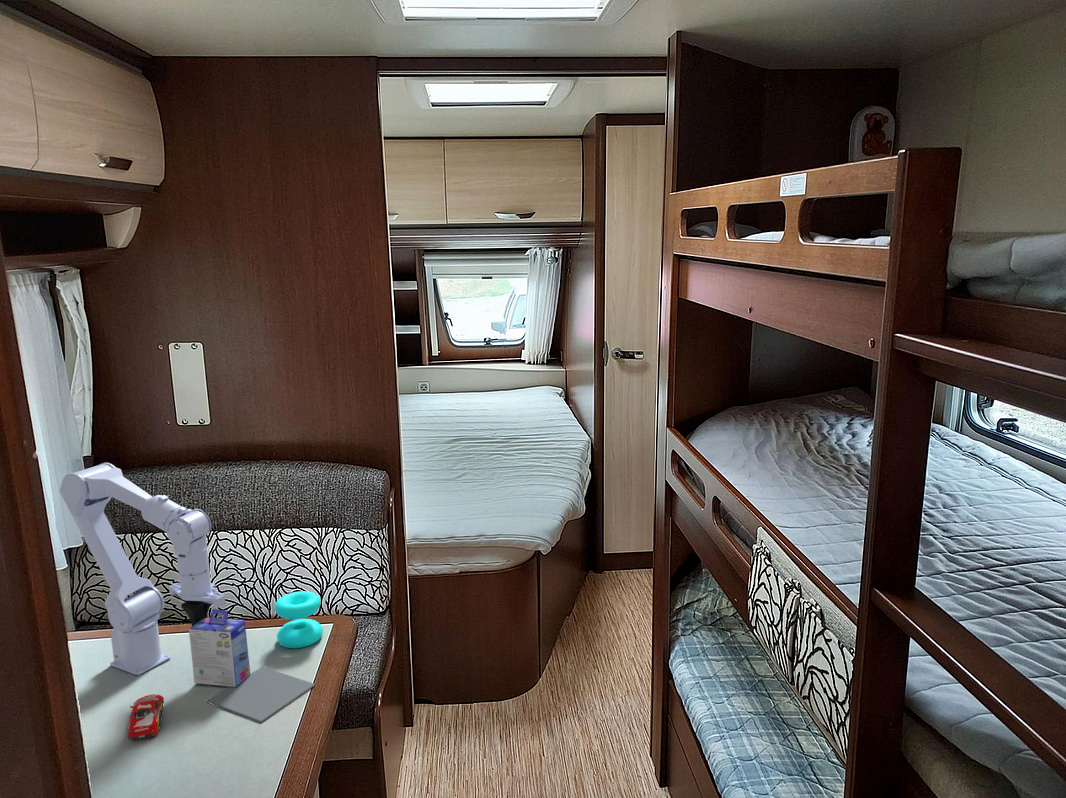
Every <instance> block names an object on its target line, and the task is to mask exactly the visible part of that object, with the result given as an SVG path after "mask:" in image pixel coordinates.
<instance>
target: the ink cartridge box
mask: <svg viewBox="0 0 1066 798" xmlns="http://www.w3.org/2000/svg"><path fill="white" fill-rule="evenodd" d="M228 613H229V610H225V609H224V610H223V609H211V613H210V617H209V618H208V617H207V618H203V619H202V620H200V621H199V622H197V623H196V624H195V625H193V626H192V625H191V627H190V628H188V635H189V643H190V653H191V661H192V673H193V683H194V684H199V685H200V684H201V685H210V686H219V687H220V686H222V687H229V686H230V687H236V686H237V685H239V684H240V683H241V682H242V681H243V680H244V679H246V678H247V677H248V676H249V675H250V674H251V666H250V657H249V648H248V646H249V645H248V639H247V629H246V628H247V627H246V621H245V619H230V618H228ZM216 614H217V615H218V614H220V615H222V616H223V617H217V616H216V617H214V616H215V615H216Z"/></svg>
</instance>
